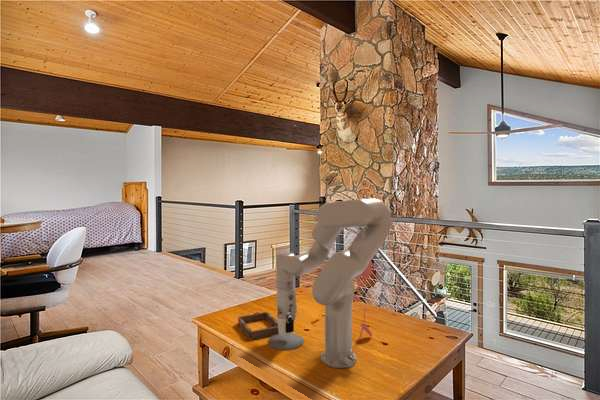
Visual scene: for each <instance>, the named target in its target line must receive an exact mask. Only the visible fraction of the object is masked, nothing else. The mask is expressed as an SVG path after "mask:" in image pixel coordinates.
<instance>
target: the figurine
mask: <svg viewBox="0 0 600 400" xmlns="http://www.w3.org/2000/svg"><path fill="white" fill-rule="evenodd" d="M372 268H374V263H373V262H372V260H371V261H370V263H369V264H368V266H367V267H366V269H365V270H364V272H363V273H362V274H360V275H359V276H357V277H355V279H354V278H353V280H354V283H356V284H358V288H357V293H356V295H354V296H353V301H354V302H355V303H358V302H359V303H360V305H361V306H362V307H363V309H364V311H363V323H360V322H355V324H356V325H357V324H358V325H360V326H361V330H360V333H359V336H358V340H359V341H360V340H361V338H362V334H363V331H364V332H366V333H367V334H368V335H369V336H370V337H371V338H372V337H373V334H372V332H371V330H370V329H369V328H368V327H370V328H372V329H375V330H376V331H378V329H377V328H375V327H372V326H371V325H369V324H368V325H367V324H365V320H366V308H365V306H364V305H363V303H362V302H361V300H360V297H359V292H360V291H359V290H360V288H361V287H363V285H364V284H365V282H366V281H367V279H368V278H369V277H370V276H371V275H372V276H373V277H374V278H375V279H376V280H377V281H378V282H380V283H381V285H383V286H385V284H384V283H383V281H382V280H381V279H380V278H379V277H378V276H377V275H376V274H375V273H374V272H373V270H372ZM360 278H362V279H363V281H362V282H359V281H357V280H359V279H360ZM371 345H372V343H371V344H369V346H371Z"/></svg>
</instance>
